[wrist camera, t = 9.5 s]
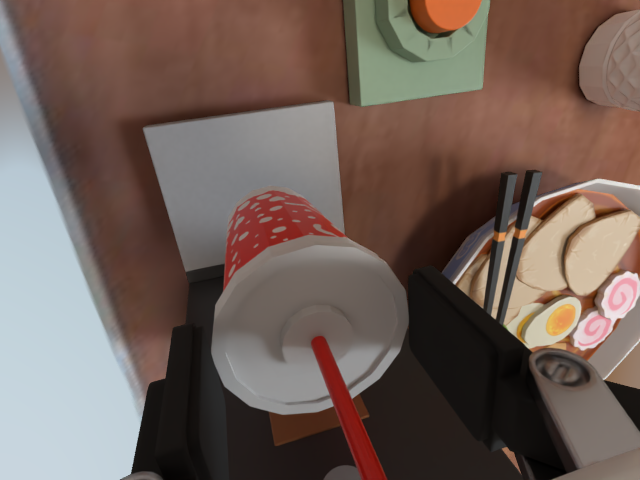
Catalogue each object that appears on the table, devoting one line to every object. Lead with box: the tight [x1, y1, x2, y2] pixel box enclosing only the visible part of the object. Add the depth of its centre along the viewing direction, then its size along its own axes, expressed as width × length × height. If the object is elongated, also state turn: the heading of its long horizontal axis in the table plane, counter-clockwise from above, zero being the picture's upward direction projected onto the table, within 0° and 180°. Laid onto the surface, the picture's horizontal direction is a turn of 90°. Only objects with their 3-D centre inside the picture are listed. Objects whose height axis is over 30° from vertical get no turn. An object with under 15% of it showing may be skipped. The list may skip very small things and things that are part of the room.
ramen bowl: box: [442, 170, 640, 380], centre depth 33 cm, size 25×23×8 cm
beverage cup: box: [211, 186, 409, 480], centre depth 13 cm, size 6×6×14 cm
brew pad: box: [343, 0, 490, 107], centre depth 23 cm, size 11×9×4 cm
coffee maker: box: [143, 100, 523, 480], centre depth 18 cm, size 17×12×22 cm
